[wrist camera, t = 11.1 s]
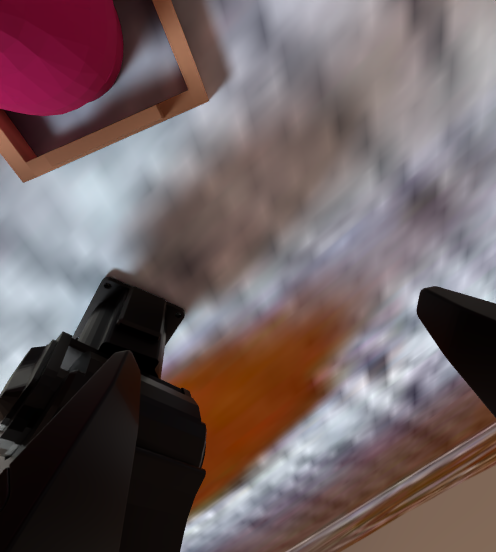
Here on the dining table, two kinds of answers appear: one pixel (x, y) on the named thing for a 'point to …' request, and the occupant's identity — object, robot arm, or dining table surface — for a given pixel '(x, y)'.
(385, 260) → the dining table surface
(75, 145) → the rack
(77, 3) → the pepper mill
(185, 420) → the robot arm
